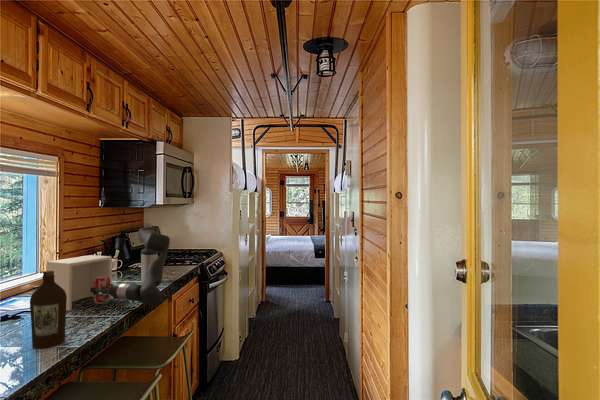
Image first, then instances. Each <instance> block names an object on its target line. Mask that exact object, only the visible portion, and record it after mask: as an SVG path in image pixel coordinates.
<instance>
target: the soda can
mask: <svg viewBox="0 0 600 400" xmlns="http://www.w3.org/2000/svg"><path fill="white" fill-rule="evenodd" d="M105 286H110V279H109V276H107V275H103V276H96V277H95V279H94V282H93V287H94V288H101V287H105ZM99 290H100V289H99ZM103 290H104V291H105V288H104V289H103ZM109 301H111V299H110V295H107V294H106V295H103V296H97V295H94V297H93V302H94V303H96V304H99V305H101V304H106V303H108V302H109Z"/></svg>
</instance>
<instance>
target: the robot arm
mask: <svg viewBox="0 0 600 400" xmlns="http://www.w3.org/2000/svg"><path fill="white" fill-rule="evenodd" d="M137 237H138V241H139V242H140V243H142V244H144V248H142V249H141V250H140V266H141V267H140V280H141V281H140V283H141V284H136V283H132V282H124V281H123V282H122V281H116V282H114V283H112V284H110V286H105V287H101V288H94V287H92V288H91V292H92V293H93V295H97V296H103V295H106V294H107V295H111V296H112V299H115V300H116V299H117V300H123V301H135V302H139V303H141V304H143V305H144V304H145V305H147V306H150V307H151V306H157V305H159V304H160V303H162V302H163V299H164V294H163V292H162V291H161V290H160V288H158V287H159V286H160V285H161V284H162V281H163V274H164V273H163V272H164V266H165V263H166V260H167V257H168V251H169V248H170V244H171V243H170V242H171V239H170V237H169V235H165V234H161V233H159V229H158V228H157V227H154V226H149V227H148V226H147V227H146V226H145V227H141V228H139V230H138V233H137ZM158 254H159V256H158ZM104 288H105V291H104V290H103V289H104ZM99 289H100V290H99Z"/></svg>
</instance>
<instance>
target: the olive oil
mask: <svg viewBox="0 0 600 400" xmlns="http://www.w3.org/2000/svg"><path fill="white" fill-rule="evenodd" d="M42 274H43V275H42V283H41V284H40V285H39V286H38V287H37V288H36V290H35V291H33V293H32V295H31V296H30V300H29V311H30V324H31V325H30V326H31V344H32V345H31V346H32V347H33V348H34V349H48V348H52V347H56V346H60V345H61V344H62V343H64V342H65V340H66V318H67V317H66V316H67V315H66V314H67V310H66V302H67V296H66V293H65V291H64V289H63V288H61V287H60V286H59V285H58V284H56V283H55V281H54V271H47V270H46V271H45V270H44V271H43V272H42Z"/></svg>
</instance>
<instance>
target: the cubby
mask: <svg viewBox="0 0 600 400" xmlns="http://www.w3.org/2000/svg"><path fill="white" fill-rule="evenodd" d="M112 259H113V256H110V255H109V256H108V255H98V254H97V255H96V254H88V255H81V256H75V257H70V258H62V259H56V260H49V261H46V271H54V281H55V283H56V284H58V285H59V286H60V287H61V288H63V289H64V291H65V293H66V296H67V302H66V312H67V311H68V312H69V311H70V312H71V311H72V308H73V307H72V304H73V303H72V302H75V301H79V300H82V299H86V298H89V297H93V298H94V295H93V293H92V292H91V288H92V287H93V282H94V279H95V277H96V276H103V275H107V276H109V279H110V284H113V272H112V271H113V262H112V261H113V260H112ZM112 299H113V297H112V296H111V295H110V300H112Z"/></svg>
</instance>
